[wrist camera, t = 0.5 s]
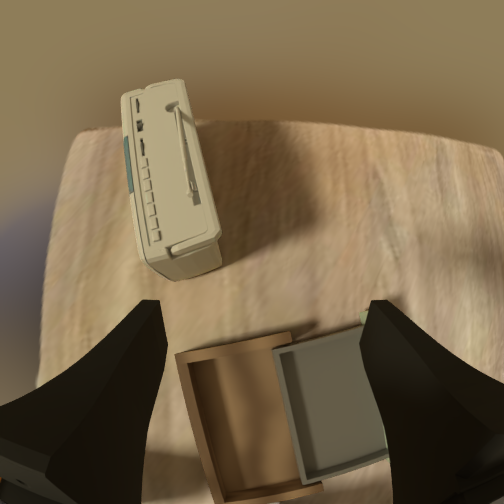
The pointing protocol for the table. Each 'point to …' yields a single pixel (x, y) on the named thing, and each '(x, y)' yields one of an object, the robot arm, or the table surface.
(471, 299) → the table surface
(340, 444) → the drawer
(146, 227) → the stereo radio cassette player
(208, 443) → the wooden box
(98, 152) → the table surface
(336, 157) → the table surface
